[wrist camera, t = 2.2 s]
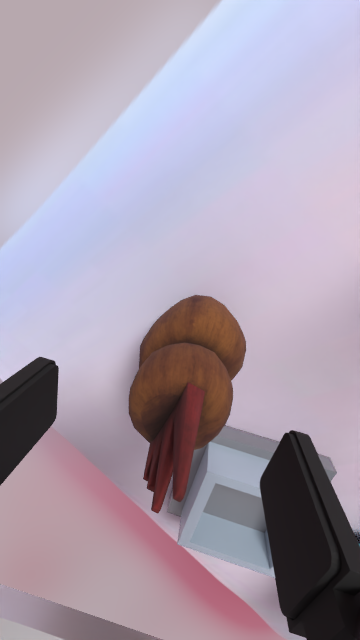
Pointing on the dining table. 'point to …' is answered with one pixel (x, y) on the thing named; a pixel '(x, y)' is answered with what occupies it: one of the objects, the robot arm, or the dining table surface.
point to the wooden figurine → (184, 388)
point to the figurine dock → (230, 500)
